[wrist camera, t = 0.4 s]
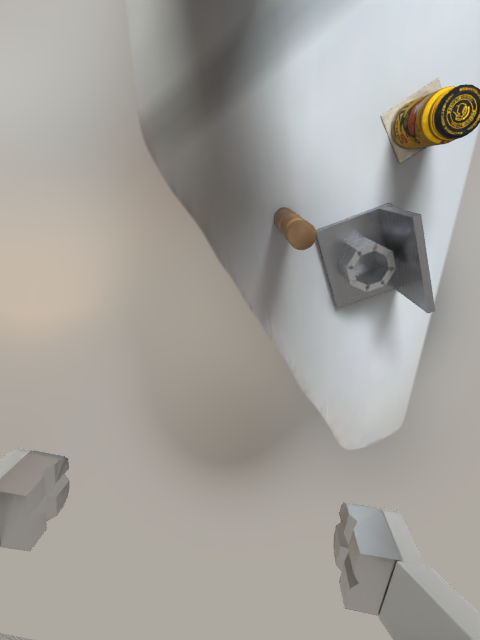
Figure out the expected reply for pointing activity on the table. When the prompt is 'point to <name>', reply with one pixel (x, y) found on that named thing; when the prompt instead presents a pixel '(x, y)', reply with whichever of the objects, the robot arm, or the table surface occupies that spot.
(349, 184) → the table surface
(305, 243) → the wooden cylinder rod
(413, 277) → the cup bracket
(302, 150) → the table surface
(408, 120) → the condiment
